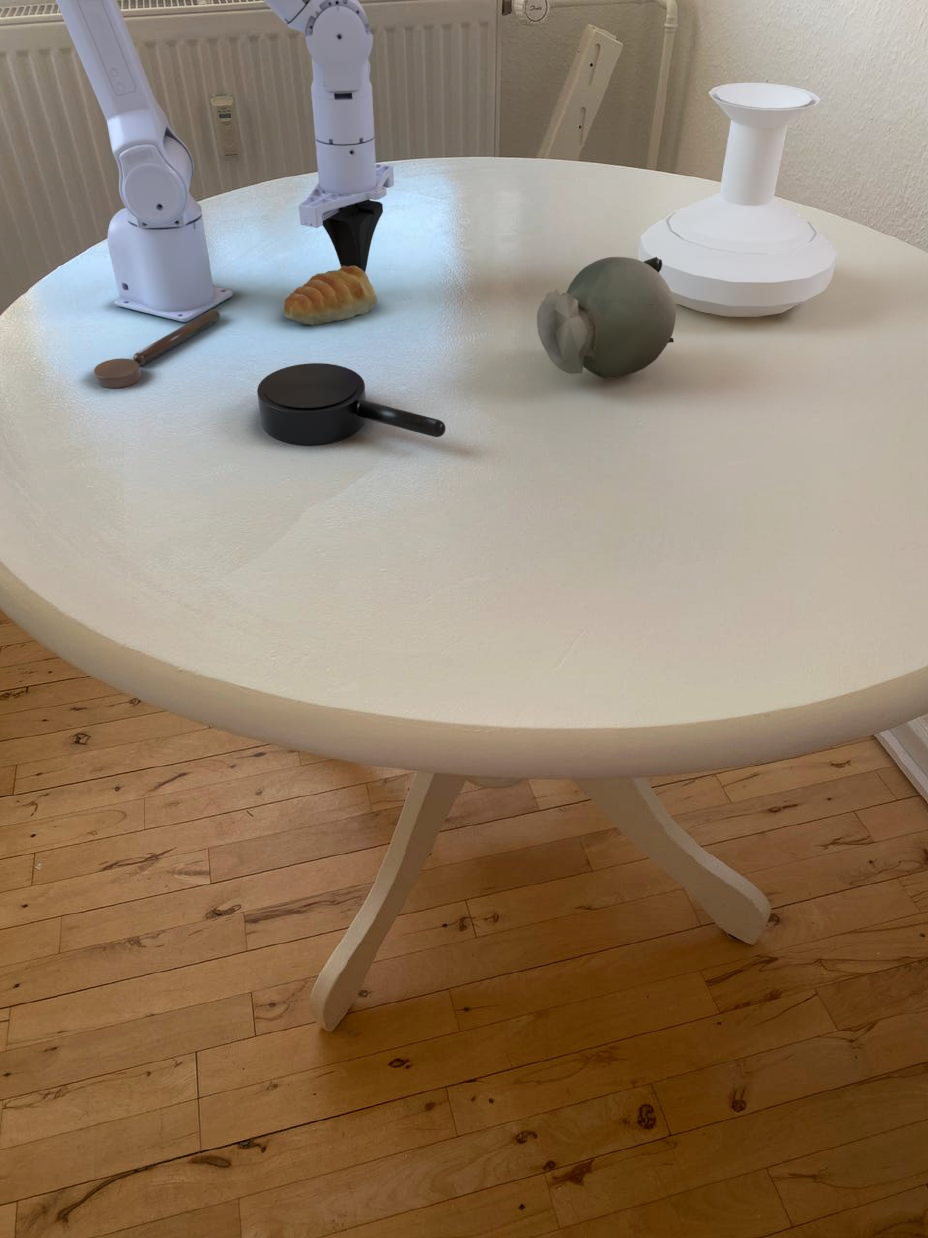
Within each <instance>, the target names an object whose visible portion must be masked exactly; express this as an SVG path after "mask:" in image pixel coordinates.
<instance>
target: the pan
mask: <svg viewBox="0 0 928 1238" xmlns="http://www.w3.org/2000/svg"><path fill="white" fill-rule="evenodd" d="M256 394H257V400H258V401H257V402H258V408H259V415H260V423H261V426H262V429H263V430H264V432H266V434H268V435H269V436H270V437H272V438H274V439H275V440H278V441H280V442H284V443H287V444H292V445H298V446H299V445H300V446H318V445H327V444H331V443H337V442H339V441H342V440H345V439H347V438H349V437H351V436H353V435H355V434H356V433H358V432H359V431H360V430H361V429H363V427H364V426H365V424H366V421H367V420H369V421H373V422H377V423H381V424H385V425H389V426H392V427H396V428H400V429H404V430H408V431H411V432H414V433H417V434H422V435H426V436H430V437H433V438H440V437H442V436H443V435H444V434H445V433H446V424H445V423H444V421H442V420H441V419H437V418H433V417H429V416H426V415H421V414H419V413H414V412H411V411H407V410H402V409H400V408H395V407H392V406H388V405H383V404H380V403H376V402H373V401H369V400H367V397H366V396H367V395H366V384H365V380H364V379H363V377H362V376H361V375H360V374H359V373H358V372H356V371H355V370H352V369H351V368H348V367H346V366H342V365H337V364H333V363H324V362H323V363H322V362H310V363H309V362H308V363H300V364H299V363H298V364H295V365H290V366H286V367H282V368H280V369H277V370H275V371H273V372H271V373H270V374H268V375H266V376H265V377H264V378H263V379H262V380H261V381H260V383H258V386H257V390H256Z"/></svg>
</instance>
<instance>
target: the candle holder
mask: <svg viewBox="0 0 928 1238" xmlns="http://www.w3.org/2000/svg"><path fill="white" fill-rule="evenodd" d="M708 94H709V96H710V98H711V99H712V100H713V101H714V102H715V103H716V104H717V106H718V107H719V108H720V109H721V110H722V111H723V112H724V114H726V116H727V117H729V119H730V123H729V129H728V137H727V141H726V142H727V143H726V147H725V155H724V161H723V167H722V168H723V169H722V173H721V180H720V186H719V192H717V193H715V194H712V195H710V196H707V197H705V198H703V199H700V200H699V201H696V202H694V203H691V204H688V205H686V206H684V207H682V208H680V209H676V210H674V211H672V212H670V214H668V215H667V216H664V218H662V219H660V220H658V221H656V222H655V223H653V224H652V225H651V226H649V228H647V229H646V230H645V231H644V232H643V233H642V234H641V236H639V243H638V254H637V260H640V261H642V262H644V261H646V260H649V259H652V258H655V257H657V258H658V259H661V260H662V268H661V270H660V272H659V274H660V275H661V276H662V277H663V279H664V280H665V281H666V283H667V284H668V286H669V288H670V290H671V293H672V295H673V299H674V302H675V304H678V305H681V306H683V307H686V308H689V309H691V310H695V311H697V312H701V313H706V314H712V315H717V316H720V317H721V316H722V317H726V318H727V317H728V318H729V317H730V318H731V317H735V318H737V317H738V318H741V317H742V318H746V317H747V318H758V317H765V316H771V315H778V314H782V313H784V312H786V311H789V310H790V309H792V308H795V307H796V306H798V305H801V304H802V303H804V302H806V301H807V300H810V299H812V298H813V297H815V296H817V295H819V294H821V293H823V292H825V291H826V290H827V287H828V286H829V284H830V282H831V281H832V279H833V277H834V271H835V268H836V263H837V259H838V254H839V253H838V252H837V251H836V249H835V248H834V247H833V245H832V243H830V241H829V240H828V239H827V238H826V237H825V236H824V235H823V234H822V233H821V232H820V231H819V230H818V229H817V228H816V227H815V226H814V225H813V224H812V222H810V221H808V220H806V219H805V218H804V217H803V216H802V215H800V214H799V213H797V212H796V211H794V210H793V209H792V208H790V207H789V206H787V205H786V204H784V203H783V202H781V201H780V200H778V198H776V197H775V193H776V189H777V188H776V187H777V183H778V177H779V172H780V168H781V167H780V166H781V162H782V156H783V151H784V146H785V140H786V136H787V130H788V124H790V123H791V122H793V121H794V120H795V119H797V118H799V117H800V116H801V115H803V114H804V113H806V112H807V111H809V110H811V109H812V108H814V107H815V106H816V105H817V104H818V103H819V102H820V101H821V98H820V97H819V96H818V95H817V94H816V93H814V92H811V91H809V90H808V89H804V88H801V87H796V86H790V85H786V84H779V83H769V82H736V83H726V84H722V85H719V86H718V85H717V86H715V87H713V88H711V90H710V91H708Z"/></svg>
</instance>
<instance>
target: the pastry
mask: <svg viewBox="0 0 928 1238" xmlns="http://www.w3.org/2000/svg"><path fill="white" fill-rule="evenodd" d="M377 298H378V296H377V294H376V292H375V290H374V286H373V285H372V283H371V282H370V280H369V276H368V275H367V273H366V272H364V271H363V270H361V269H360V268H358V267H357V266H349V267H347V266H342V267H341V266H340V268H339V269H337V270H328V271H326V272H322V273H321V272H320V273H316V274H314V275H312V276H311V277H310V278H309V280H308V281H307V282H305V283H304V284H303V285H302V286H298V287H297V288H296V289H295V290H294V291H293V292H292V293H290V294H289V296H287V297H286V298H285V299H284V312H283V315H284V317H286V318H287V319H289V320H292V321H294V322H298V323H301V324H306V325H310V326H313V325H317V326H319V325H322V324H324V323H334V322H337V321H342V320H347V319H351V318H354V317H356V316H358V315H362V316H363V315H365V314H368V313H369V312H370V311H371V310H373V309H374V306H375V305H376V304H377V302H378V299H377Z"/></svg>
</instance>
